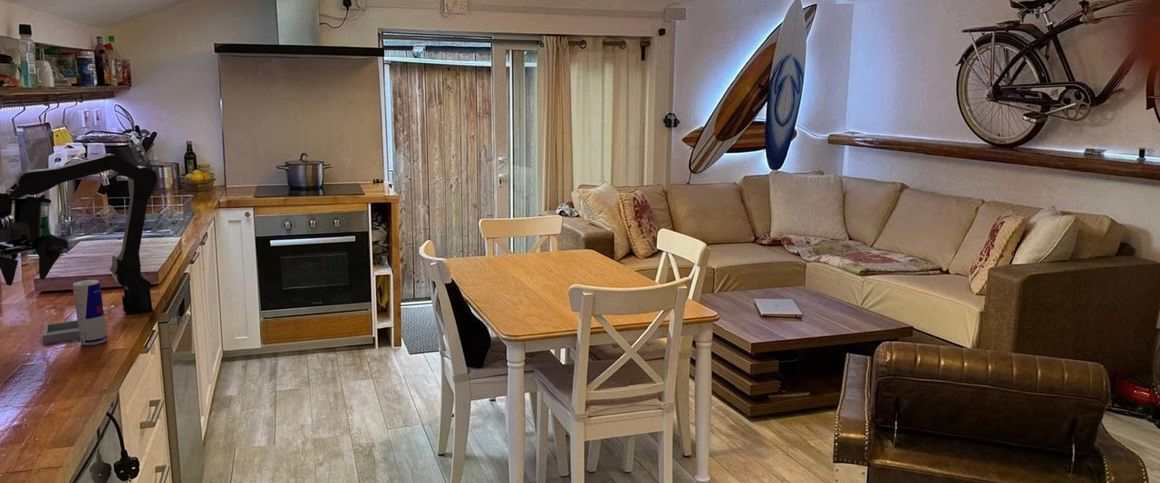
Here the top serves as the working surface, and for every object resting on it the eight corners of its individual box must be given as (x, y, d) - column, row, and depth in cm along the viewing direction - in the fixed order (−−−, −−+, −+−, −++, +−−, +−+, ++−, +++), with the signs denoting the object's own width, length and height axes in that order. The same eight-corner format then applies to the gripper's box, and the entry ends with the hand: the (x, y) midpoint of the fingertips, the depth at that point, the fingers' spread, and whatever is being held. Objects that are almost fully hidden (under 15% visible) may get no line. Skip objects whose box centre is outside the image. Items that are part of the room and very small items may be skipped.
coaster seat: (95, 325, 216) (94, 317, 215) (95, 336, 207) (94, 328, 206) (45, 332, 211) (44, 324, 210) (44, 344, 201) (42, 335, 201)
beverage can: (95, 347, 199) (87, 285, 196) (75, 345, 200) (66, 284, 197) (113, 339, 204) (105, 279, 201) (93, 338, 205) (84, 278, 202)
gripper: (-34, 219, 202) (-38, 282, 198) (34, 206, 199) (32, 270, 195) (5, 229, 213) (2, 290, 209) (70, 217, 210) (69, 278, 206)
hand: (25, 282), depth 205 cm, fingers open, 9 cm apart
